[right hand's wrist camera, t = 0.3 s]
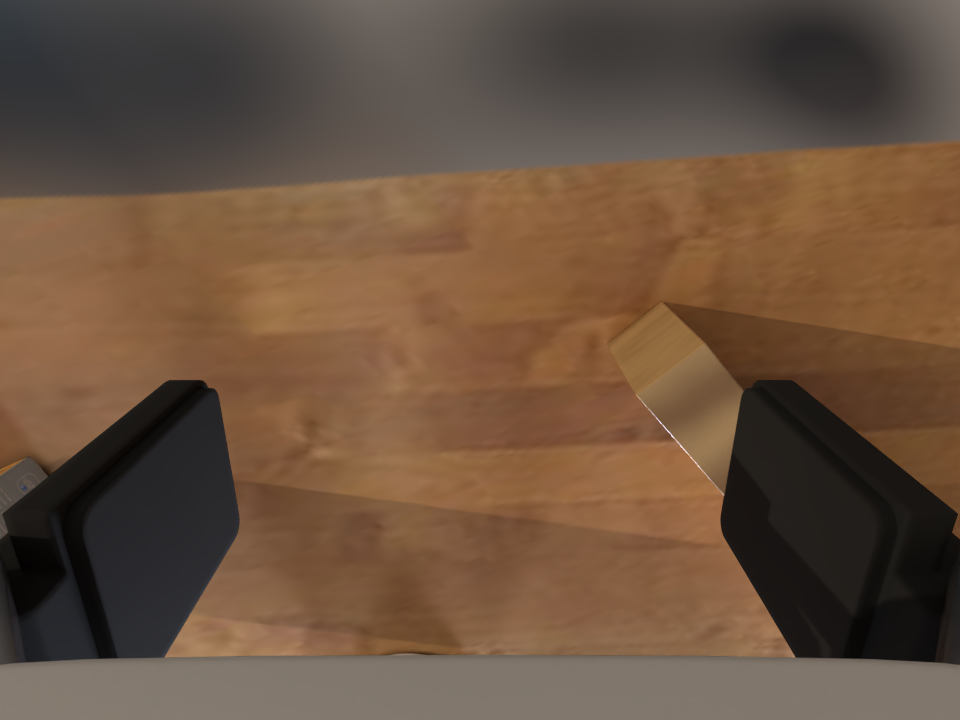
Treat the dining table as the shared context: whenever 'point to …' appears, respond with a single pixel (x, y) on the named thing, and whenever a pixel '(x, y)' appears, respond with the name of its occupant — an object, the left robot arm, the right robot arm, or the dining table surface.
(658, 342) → the post
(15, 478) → the hard drive box
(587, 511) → the dining table surface
